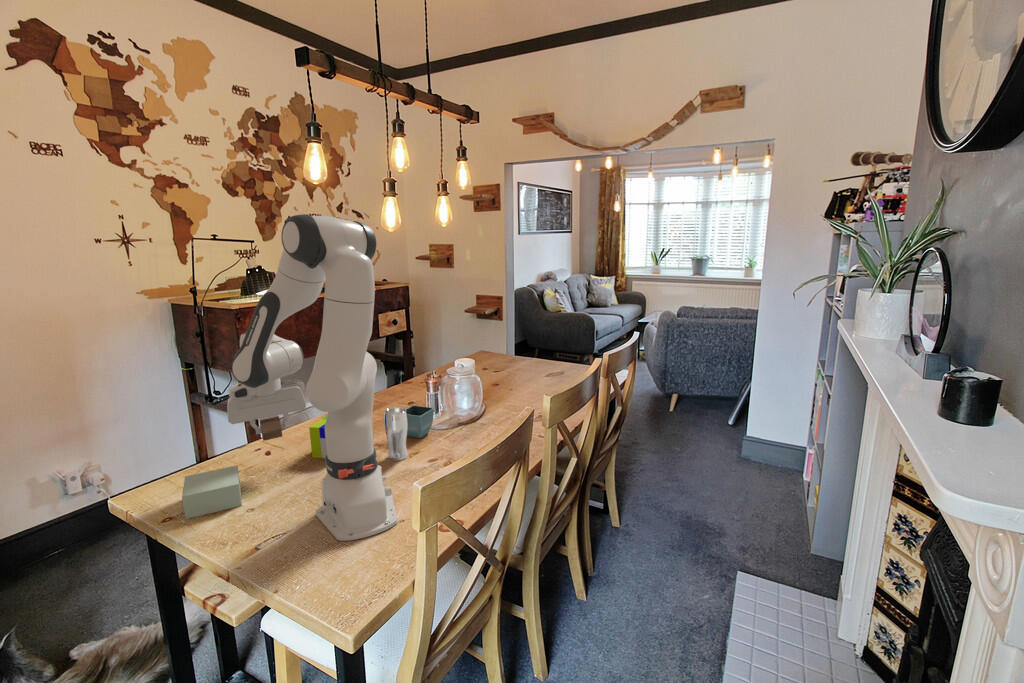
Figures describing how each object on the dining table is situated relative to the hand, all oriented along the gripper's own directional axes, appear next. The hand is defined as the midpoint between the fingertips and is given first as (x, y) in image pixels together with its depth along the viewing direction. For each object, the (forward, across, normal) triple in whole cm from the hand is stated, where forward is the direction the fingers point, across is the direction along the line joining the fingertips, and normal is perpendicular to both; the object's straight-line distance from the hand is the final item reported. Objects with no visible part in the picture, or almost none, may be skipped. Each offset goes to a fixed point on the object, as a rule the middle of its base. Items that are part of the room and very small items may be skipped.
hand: (271, 430), depth 141 cm
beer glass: (+14, -33, +10) cm, 37 cm away
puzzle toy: (+13, -17, -4) cm, 22 cm away
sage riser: (+12, +16, +11) cm, 23 cm away
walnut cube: (+2, 0, 0) cm, 2 cm away
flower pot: (+14, -44, -3) cm, 46 cm away
